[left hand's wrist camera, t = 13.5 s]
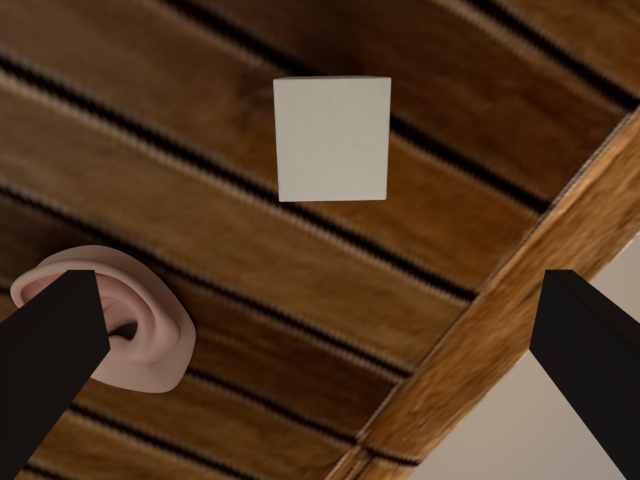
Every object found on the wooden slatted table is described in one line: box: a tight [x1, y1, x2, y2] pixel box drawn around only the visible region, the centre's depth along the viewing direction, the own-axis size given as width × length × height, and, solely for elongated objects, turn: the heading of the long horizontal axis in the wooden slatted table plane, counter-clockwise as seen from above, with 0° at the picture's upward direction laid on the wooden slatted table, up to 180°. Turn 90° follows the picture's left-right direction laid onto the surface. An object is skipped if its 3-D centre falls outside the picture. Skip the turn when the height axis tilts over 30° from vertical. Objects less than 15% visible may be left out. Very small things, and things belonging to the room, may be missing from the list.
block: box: [273, 76, 391, 201], centre depth 24 cm, size 5×5×10 cm
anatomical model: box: [11, 245, 196, 393], centre depth 32 cm, size 13×4×12 cm
